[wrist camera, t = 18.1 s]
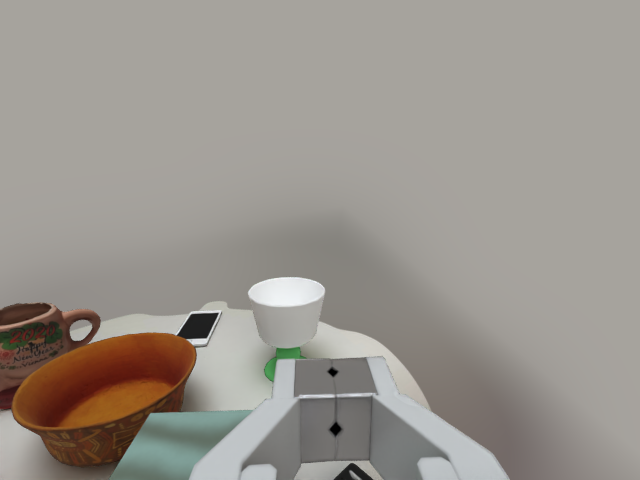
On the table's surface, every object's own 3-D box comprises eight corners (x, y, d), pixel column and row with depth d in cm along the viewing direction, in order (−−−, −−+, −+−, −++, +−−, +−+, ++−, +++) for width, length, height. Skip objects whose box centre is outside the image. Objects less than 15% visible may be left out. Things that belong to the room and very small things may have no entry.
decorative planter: (97, 348, 66) (86, 285, 63) (115, 373, 58) (104, 303, 55) (-48, 398, 52) (-71, 320, 48) (-50, 441, 44) (-78, 350, 40)
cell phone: (168, 347, 66) (167, 345, 66) (191, 313, 82) (191, 311, 81) (206, 346, 67) (206, 343, 67) (222, 312, 82) (222, 310, 82)
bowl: (174, 365, 60) (168, 317, 58) (226, 432, 45) (221, 370, 43) (26, 424, 47) (12, 363, 44) (30, 548, 31) (8, 466, 29)
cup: (329, 390, 54) (330, 304, 50) (247, 397, 52) (242, 308, 49) (320, 346, 67) (321, 275, 63) (254, 350, 65) (251, 278, 62)
